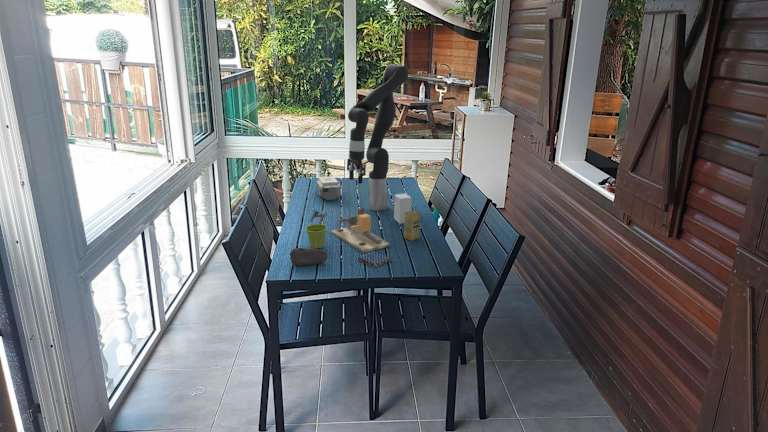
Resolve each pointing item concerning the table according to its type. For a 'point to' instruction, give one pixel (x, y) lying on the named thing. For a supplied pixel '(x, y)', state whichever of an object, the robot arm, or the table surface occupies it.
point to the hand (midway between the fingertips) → (355, 181)
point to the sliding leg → (362, 223)
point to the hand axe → (359, 214)
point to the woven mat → (374, 258)
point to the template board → (359, 237)
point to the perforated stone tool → (307, 256)
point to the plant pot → (316, 235)
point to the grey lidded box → (328, 188)
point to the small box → (401, 206)
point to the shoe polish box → (411, 225)
